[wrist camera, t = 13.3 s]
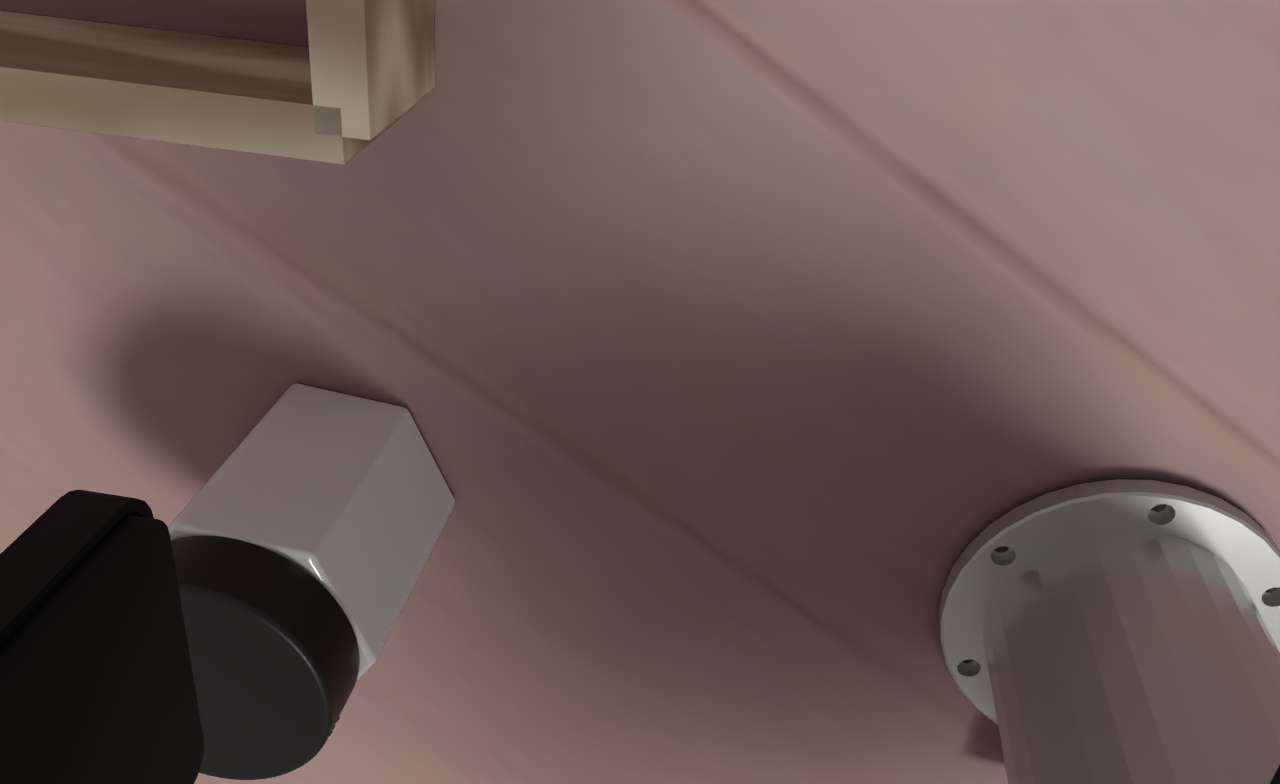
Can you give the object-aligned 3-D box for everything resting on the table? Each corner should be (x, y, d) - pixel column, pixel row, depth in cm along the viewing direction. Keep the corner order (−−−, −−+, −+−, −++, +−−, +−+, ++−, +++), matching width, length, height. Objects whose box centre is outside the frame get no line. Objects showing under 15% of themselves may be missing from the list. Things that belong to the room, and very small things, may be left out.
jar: (242, 531, 47) (77, 748, 36) (240, 364, 43) (51, 556, 32) (449, 578, 46) (340, 811, 36) (465, 415, 42) (348, 625, 32)
